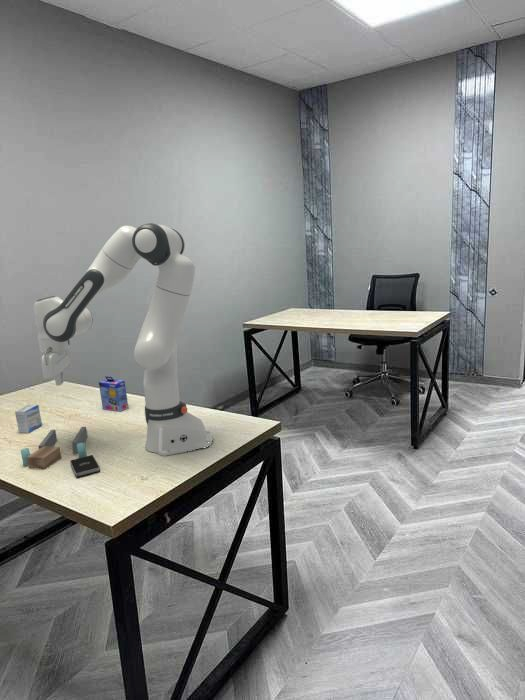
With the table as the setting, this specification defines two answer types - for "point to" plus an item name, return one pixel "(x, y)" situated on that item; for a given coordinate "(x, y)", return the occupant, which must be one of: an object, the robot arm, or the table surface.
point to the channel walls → (79, 438)
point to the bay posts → (80, 449)
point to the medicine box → (28, 418)
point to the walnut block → (44, 457)
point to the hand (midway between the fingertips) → (60, 384)
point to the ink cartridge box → (113, 394)
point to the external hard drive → (84, 466)
